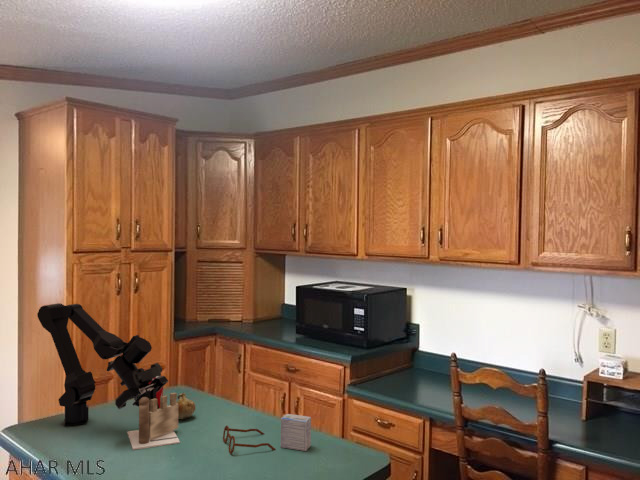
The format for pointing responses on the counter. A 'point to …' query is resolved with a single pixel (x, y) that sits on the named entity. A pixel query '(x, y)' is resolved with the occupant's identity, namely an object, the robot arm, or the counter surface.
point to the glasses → (241, 444)
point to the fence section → (163, 416)
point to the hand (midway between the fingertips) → (158, 413)
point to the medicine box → (296, 432)
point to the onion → (185, 407)
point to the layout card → (153, 440)
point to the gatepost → (144, 420)
